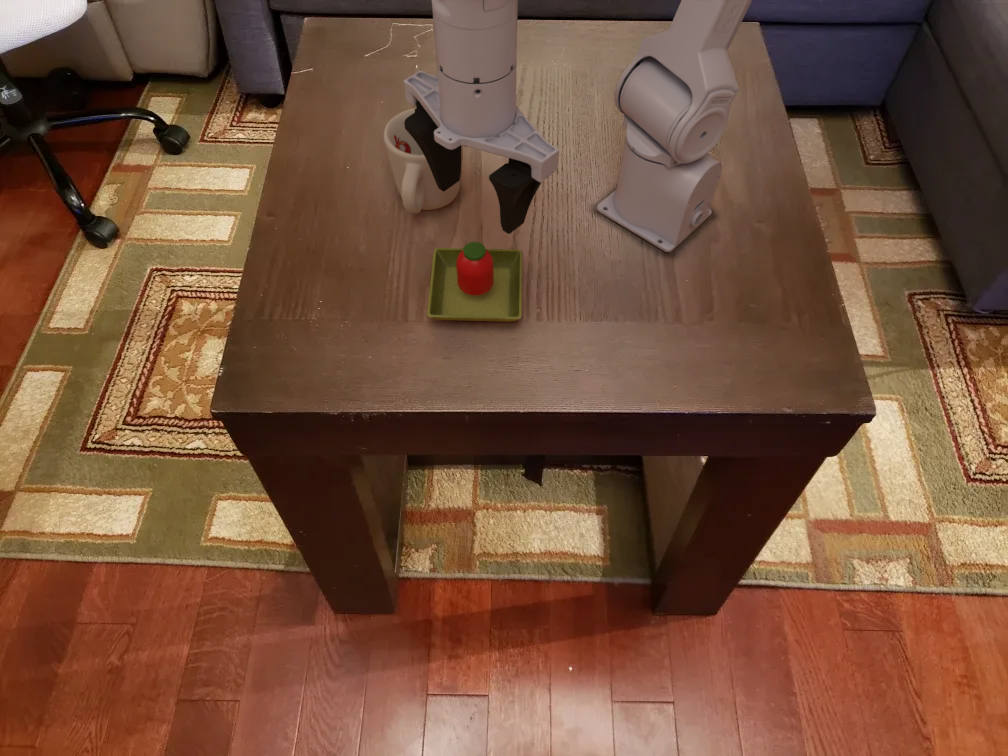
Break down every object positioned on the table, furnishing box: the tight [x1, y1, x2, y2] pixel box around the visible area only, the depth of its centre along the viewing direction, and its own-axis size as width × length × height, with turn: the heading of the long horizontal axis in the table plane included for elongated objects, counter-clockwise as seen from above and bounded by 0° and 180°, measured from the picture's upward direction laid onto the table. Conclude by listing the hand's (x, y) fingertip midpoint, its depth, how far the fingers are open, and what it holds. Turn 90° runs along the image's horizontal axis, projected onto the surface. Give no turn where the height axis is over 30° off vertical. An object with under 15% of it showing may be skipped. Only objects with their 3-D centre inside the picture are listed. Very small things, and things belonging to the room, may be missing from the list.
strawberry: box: [456, 241, 494, 295], centre depth 68 cm, size 3×3×4 cm
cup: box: [383, 107, 464, 215], centre depth 75 cm, size 11×8×8 cm
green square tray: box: [426, 247, 524, 323], centre depth 70 cm, size 9×9×2 cm
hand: (480, 205), depth 64 cm, fingers open, 7 cm apart
